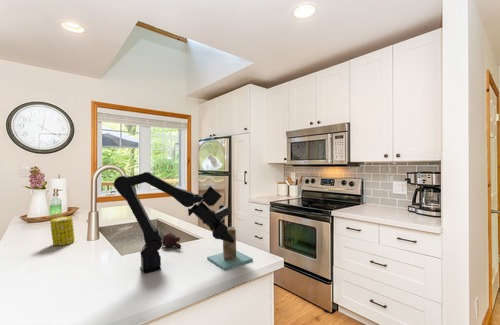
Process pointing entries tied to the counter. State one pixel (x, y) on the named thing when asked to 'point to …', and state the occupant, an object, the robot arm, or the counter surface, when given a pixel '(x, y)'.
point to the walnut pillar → (230, 246)
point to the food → (62, 230)
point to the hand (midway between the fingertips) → (232, 238)
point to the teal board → (227, 264)
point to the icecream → (171, 240)
